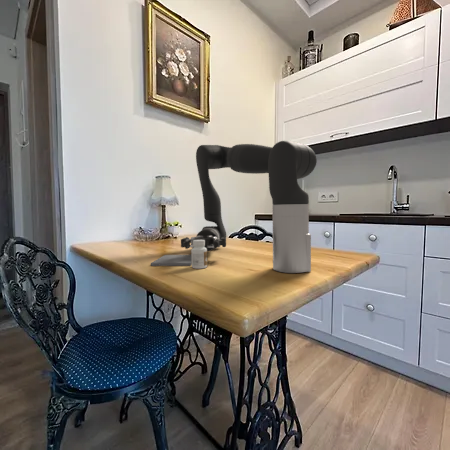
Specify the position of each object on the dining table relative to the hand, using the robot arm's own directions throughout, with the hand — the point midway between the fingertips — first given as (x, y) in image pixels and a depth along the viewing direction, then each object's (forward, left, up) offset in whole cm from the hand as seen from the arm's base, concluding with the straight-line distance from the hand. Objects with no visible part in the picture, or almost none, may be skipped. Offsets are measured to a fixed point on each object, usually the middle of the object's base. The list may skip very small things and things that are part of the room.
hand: (200, 245), depth 75 cm
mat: (+9, -7, -6) cm, 13 cm away
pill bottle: (0, +2, -6) cm, 7 cm away
